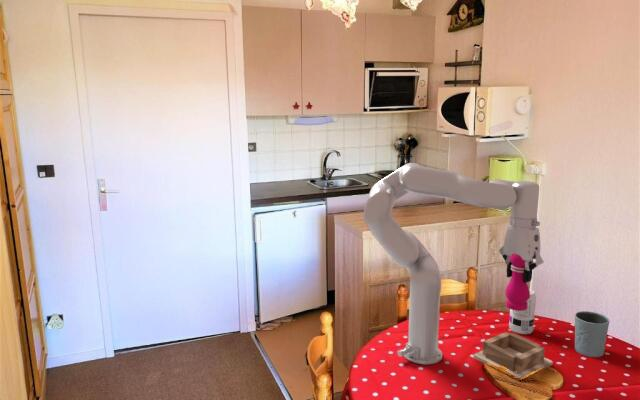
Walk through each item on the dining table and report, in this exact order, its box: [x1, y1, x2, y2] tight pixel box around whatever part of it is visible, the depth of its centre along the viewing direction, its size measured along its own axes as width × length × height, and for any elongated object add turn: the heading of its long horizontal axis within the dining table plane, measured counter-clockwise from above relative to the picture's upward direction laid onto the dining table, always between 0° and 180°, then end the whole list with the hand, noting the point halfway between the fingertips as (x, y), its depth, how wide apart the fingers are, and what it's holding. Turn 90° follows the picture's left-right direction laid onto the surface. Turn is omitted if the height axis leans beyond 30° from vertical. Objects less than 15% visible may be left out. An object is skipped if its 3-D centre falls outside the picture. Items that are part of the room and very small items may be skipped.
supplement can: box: [508, 288, 537, 335], centre depth 180 cm, size 8×8×15 cm
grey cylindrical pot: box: [574, 310, 610, 358], centre depth 165 cm, size 10×10×12 cm
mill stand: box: [473, 331, 553, 378], centre depth 159 cm, size 17×17×6 cm
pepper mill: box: [504, 254, 530, 311], centre depth 154 cm, size 7×7×20 cm
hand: (518, 278), depth 154 cm, fingers closed on pepper mill, 5 cm apart
